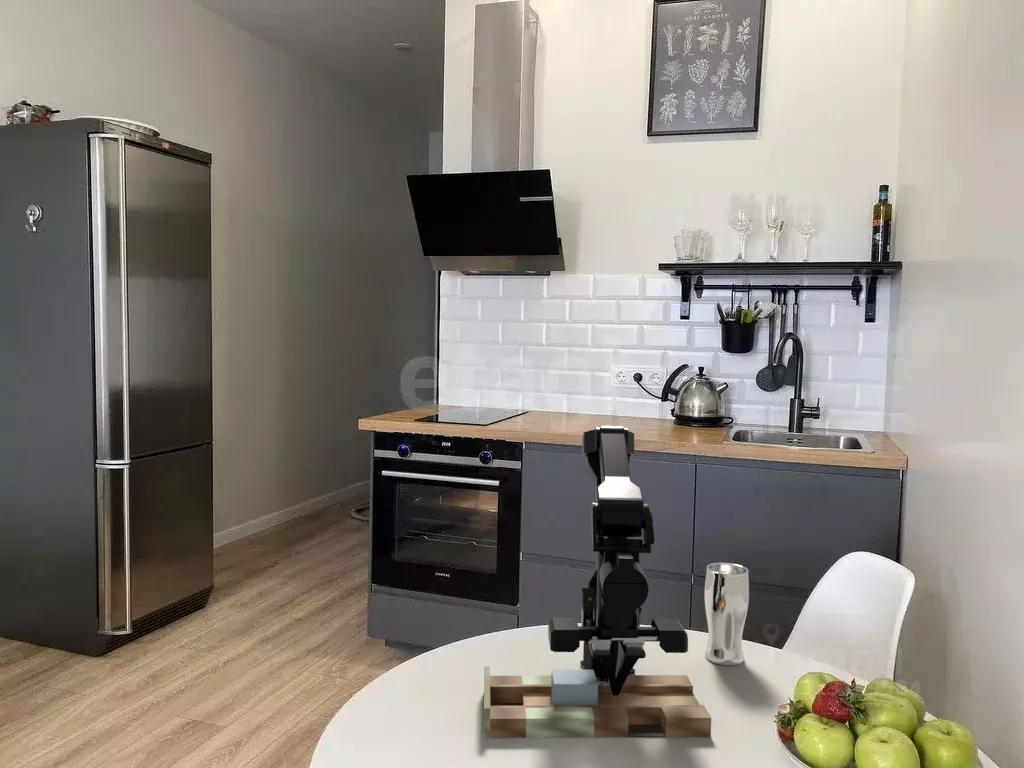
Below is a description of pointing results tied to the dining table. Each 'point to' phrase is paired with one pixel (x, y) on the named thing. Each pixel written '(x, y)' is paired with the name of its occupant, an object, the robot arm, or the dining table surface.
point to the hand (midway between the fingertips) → (615, 694)
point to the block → (574, 687)
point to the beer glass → (726, 612)
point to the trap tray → (593, 709)
